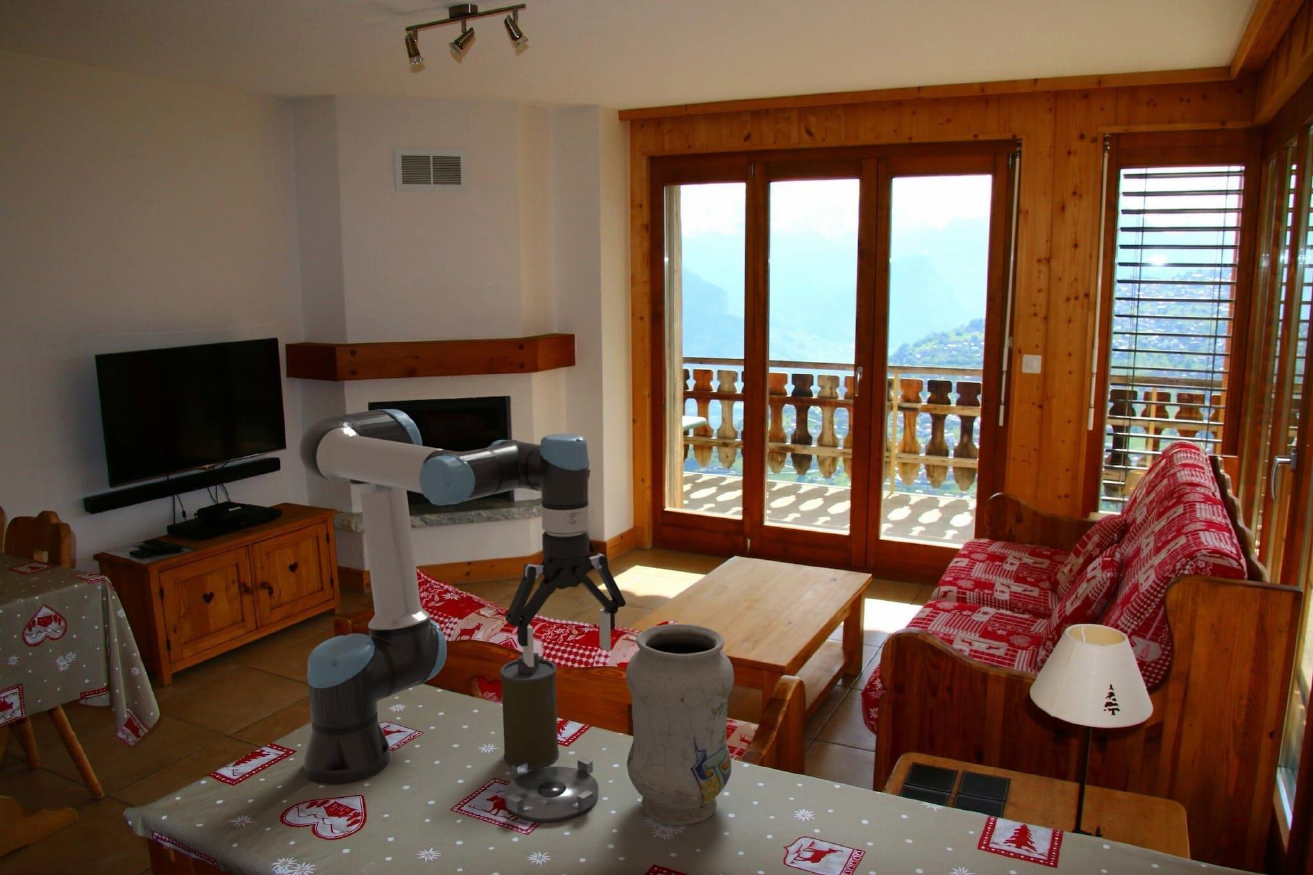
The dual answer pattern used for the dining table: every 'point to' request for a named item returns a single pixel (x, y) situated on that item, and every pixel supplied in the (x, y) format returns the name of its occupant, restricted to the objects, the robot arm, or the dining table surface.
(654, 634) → the vase
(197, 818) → the dining table surface
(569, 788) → the flange
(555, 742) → the canister
